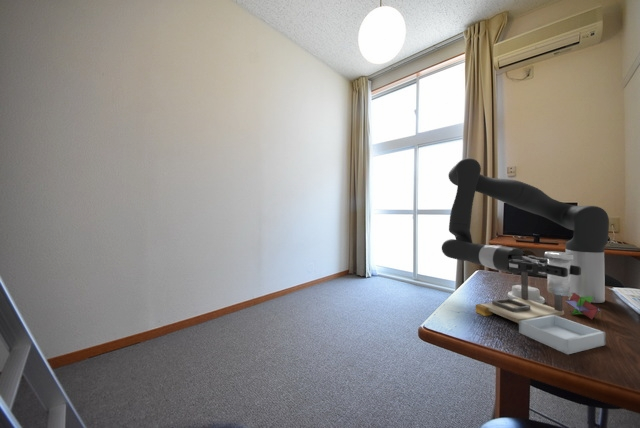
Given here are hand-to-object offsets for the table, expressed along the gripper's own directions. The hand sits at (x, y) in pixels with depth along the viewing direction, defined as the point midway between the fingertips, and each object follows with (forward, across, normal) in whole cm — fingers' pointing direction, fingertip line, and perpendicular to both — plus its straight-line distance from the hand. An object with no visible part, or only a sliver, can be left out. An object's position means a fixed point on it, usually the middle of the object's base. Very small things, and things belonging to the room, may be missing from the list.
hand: (573, 271), depth 56 cm
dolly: (-15, +5, +17) cm, 23 cm away
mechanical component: (-24, +21, +18) cm, 36 cm away
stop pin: (-3, 0, +6) cm, 7 cm away
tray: (-3, 0, +17) cm, 17 cm away
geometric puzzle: (-9, +22, +18) cm, 29 cm away
